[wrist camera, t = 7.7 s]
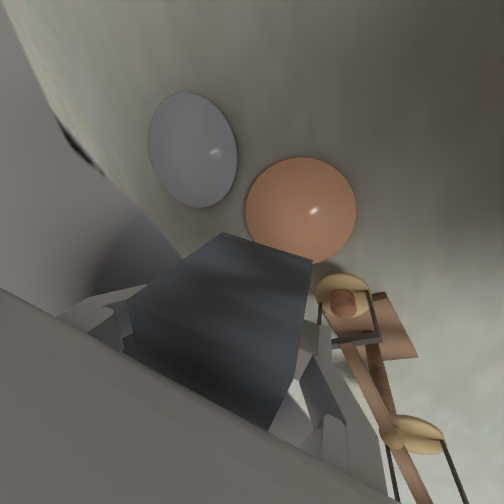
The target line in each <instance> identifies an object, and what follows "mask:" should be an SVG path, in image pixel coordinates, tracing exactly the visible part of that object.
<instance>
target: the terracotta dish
mask: <svg viewBox="0 0 504 504" xmlns="http://www.w3.org/2000/svg"><path fill="white" fill-rule="evenodd" d="M356 214H357V208H356V200H355V196H354V193H353V191H352V188H351V186H350V185H349V183H348V181H347V180H346V178H345V177H344V176H343V175H342V174H341V173H340V172H339V171H338V170H337V169H336V168H334V167H333V166H331V165H329V164H328V163H325V162H323V161H321V160H317V159H313V158H306V157H301V158H291V159H286V160H283V161H280V162H278V163H276V164H274V165H272V166H271V167H269V168H268V169H266V170H265V171H264V172H263V173H262V174H261V175H260V176H259V177H258V178H257V179H256V181H255V182H254V184H253V185H252V187H251V189H250V191H249V194H248V197H247V201H246V209H245V216H246V223H247V227H248V230H249V232H250V235H251V236H252V238H253V240H254V241H255V242H256V243H259V244H263V245H266V246H269V247H272V248H276V249H279V250H282V251H285V252H288V253H292V254H295V255H298V256H301V257H305V258H308V259H311V260H313V263H312V264H315V263H318V262H321V261H323V260H326V259H328V258H329V257H331V256H333V255H334V254H335V253H336V252H338V251H339V250H340V249H341V248H342V247H343V246H344V245H345V243H346V242H347V241H348V239H349V237H350V235H351V234H352V231H353V229H354V226H355V221H356Z"/></svg>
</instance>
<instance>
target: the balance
mask: <svg viewBox="0 0 504 504" xmlns="http://www.w3.org/2000/svg"><path fill="white" fill-rule="evenodd" d="M315 295H316V301H317V303H318V305H319V307H318V319H317V324H318V325H321V316H322V309H323V310H324V314H325V315H326V317H327V318H328V320H329V322H330V323H331V325H332V327H333V328H334V330H335V331H336V333H337V335H338V336H339V338H335V339H331V349H339V348H341V350H342V352H343V354H344V356H345V358H346V360H347V362H348V364H349V366H350V368H351V370H352V372H353V374H354V376H355V378H356V380H357V382H358V384H359V387H360V389H361V391H362V393H363V395H364V397H365V399H366V401H367V403H368V405H369V407H370V409H371V411H372V413H373V415H374V417H375V419H376V421H377V423H378V425H379V433H380V436H381V438H382V440H383V441H384V443H385V447H386V453H387V458H388V463H389V469H390V474H391V479H392V484H393V490H394V495H395V500H396V501H398V502H400V497H399V492H398V487H397V482H396V478H395V473H394V468H393V463H392V458H391V453H390V450H391V452H392V454H393V456H394V458H395V460H396V462H397V464H398V466H399V468H400V470H401V473H402V475H403V477H404V479H405V481H406V483H407V485H408V487H409V489H410V491H411V493H412V495H413V497H414V499H415V501H416V503H417V504H433V502H432V500H431V498H430V496H429V494H428V492H427V490H426V488H425V486H424V484H423V482H422V480H421V478H420V476H419V474H418V471H417V469H416V467H415V465H414V463H413V461H412V459H411V457H410V455H409V453H408V452H411V453H416V454H422V455H434V454H439V453H441V452H443V451H444V454H445V456H446V459H447V462H448V464H449V467H450V469H451V472H452V475H453V477H454V480H455V483H456V485H457V488H458V490H459V493H460V496H461V498H462V501H463V503H464V504H469V502H468V499H467V497H466V494H465V492H464V489H463V487H462V484H461V482H460V479H459V477H458V474H457V472H456V469H455V467H454V464H453V462H452V459H451V457H450V454H449V452H448V449H447V447H446V446H447V444H446V441H445V439H444V436H443V434H442V432H441V431H440V430H439V429H438V428H437V427H435V426H434V425H433V424H431V423H429V422H427V421H425V420H422V419H420V418H417V417H413V416H408V415H397V414H396V410H395V406H394V402H393V398H392V394H391V390H390V386H389V382H388V378H387V375H386V371H385V367H384V363H383V361H385V360H396V359H407V358H418V355H417V353H416V350H415V348H414V346H413V345H412V343H411V341H410V339H409V337H408V335H407V333H406V331H405V329H404V327H403V326H402V324H401V322H400V320H399V318H398V316H397V314H396V312H395V310H394V308H393V306H392V305H391V303H390V301H389V299H388V297H387V295H386V293H385V292H384V293H380V294H376V295H372V294H371V291H370V288H369V286H368V285H367V284H366V283H365V282H364V281H363V280H362V279H360V278H359V277H357V276H355V275H352V274H347V273H336V274H331V275H329V276H326V277H325V278H323V279H322V280H321V281H320V282H319V283H318V285H317V288H316V294H315ZM364 362H368V366H369V371H370V374H369V372H368V370H367V368H366V366H365V364H364ZM400 503H401V502H400Z"/></svg>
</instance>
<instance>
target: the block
mask: <svg viewBox="0 0 504 504" xmlns="http://www.w3.org/2000/svg"><path fill="white" fill-rule="evenodd" d="M312 263H313V260H311V259H308V258H305V257H301V256H298V255H295V254H292V253H288V252H285V251H282V250H279V249H276V248H272V247H269V246H266V245H263V244H259V243H256V242H253V241H250V240H246V239H243V238H240V237H237V236H234V235H230V234H227V233H224V232H222V233H221V234H219V235H218V236H216V237H215V238H214V239H212V240H211V241H209V242H208V243H207V244H205V245H204V246H202V247H201V248H199V249H198V250H197V251H195V252H194V253H192V254H191V255H189V256H188V257H187V258H185V259H184V260H182V261H181V262H180V263H178V264H177V265H175V266H174V267H172V268H171V269H170V270H168V271H167V272H165V273H164V274H162V275H161V276H160V277H158V278H157V279H155V280H154V281H152V282H151V283H150V284H148V285H147V286H145V287H144V288H142V289H141V290H140V291H138V292H137V293H135V294H134V295H133V296H131V297H130V298H128V299H127V300H126V302H127V307H128V311H129V316H130V321H131V325H132V330H133V335H134V339H135V344H136V348H137V353H138V357H139V362H140V363H142V364H144V365H146V366H148V367H150V368H151V369H153V370H155V371H157V372H159V373H161V374H163V375H164V376H166V377H168V378H170V379H172V380H174V381H176V382H177V383H179V384H181V385H183V386H185V387H187V388H189V389H190V390H192V391H194V392H196V393H198V394H200V395H201V396H203V397H205V398H207V399H209V400H211V401H213V402H214V403H216V404H218V405H220V406H222V407H224V408H226V409H227V410H229V411H231V412H233V413H235V414H237V415H238V416H240V417H242V418H244V419H246V420H248V421H250V422H251V423H253V424H255V425H257V426H259V427H261V428H263V429H264V430H266V431H268V429H269V427H270V425H271V423H272V421H273V419H274V417H275V415H276V413H277V411H278V409H279V407H280V405H281V403H282V401H283V399H284V397H285V395H286V393H287V391H288V389H289V387H290V385H291V383H292V381H293V379H294V376H295V370H296V363H297V357H298V351H299V345H300V338H301V332H302V326H303V320H304V313H305V307H306V301H307V294H308V288H309V282H310V276H311V269H312Z"/></svg>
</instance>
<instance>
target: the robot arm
mask: <svg viewBox="0 0 504 504" xmlns="http://www.w3.org/2000/svg"><path fill="white" fill-rule="evenodd" d="M145 286H147V285H141V286H137V287H132V288H128V289H124V290H119V291H115V292H111V293H106V294H102V295H97V296H93V297H89V298H87V299H85V300H84V301H82V302H80V303H79V304H77V305H75V306H73V307H72V308H70V309H68V310H67V311H65V312H63V313H62V314H60V315H58V316H56V317H55V316H53V315H51V314H49V313H48V312H46V311H44V310H42V309H40V308H38V307H36V306H35V305H32V304H31V303H29V302H27V301H25V300H23V299H22V298H20V297H18V296H16V295H14V294H12V293H11V292H9V291H7V290H5V289H3V288H1V287H0V504H402V503H400V502H398V501H396V500H394V499H392V498H390V497H389V496H388V492H387V487H386V481H385V475H384V469H383V464H382V458H381V452H380V446H379V440H378V436H377V435H376V433H375V431H374V429H373V428H372V426H371V424H370V423H369V421H368V419H367V417H366V416H365V414H364V412H363V411H362V409H361V407H360V405H359V404H358V402H357V400H356V399H355V397H354V395H353V393H352V392H351V390H350V388H349V387H348V385H347V383H346V382H345V380H344V378H343V376H342V375H341V373H340V371H339V370H338V368H337V366H336V364H334V363H332V351H331V330H330V329H329V328H326V327H323V326H321V325H318V324H315V323H312V322H310V321H307V320H303V326H302V332H301V338H300V345H299V351H298V357H297V363H296V370H295V376H294V379H296V380H298V381H300V382H299V383H300V386H301V390H302V393H303V396H304V399H305V402H306V405H307V409H308V412H309V415H310V418H311V421H312V424H313V428H314V430H313V431H312V432H311V434H310V435H309V436H308V437H307V439H306V440H305V441H304V443H303V444H302V445H301V449H299V448H298V447H296V446H294V445H292V444H290V443H288V442H287V441H285V440H283V439H281V438H279V437H277V436H275V435H274V434H272V433H270V432H268V431H266V430H264V429H263V428H261V427H259V426H257V425H255V424H253V423H251V422H250V421H248V420H246V419H244V418H242V417H240V416H238V415H237V414H235V413H233V412H231V411H229V410H227V409H226V408H224V407H222V406H220V405H218V404H216V403H214V402H213V401H211V400H209V399H207V398H205V397H203V396H201V395H200V394H198V393H196V392H194V391H192V390H190V389H189V388H187V387H185V386H183V385H181V384H179V383H177V382H176V381H174V380H172V379H170V378H168V377H166V376H164V375H163V374H161V373H159V372H157V371H155V370H153V369H151V368H150V367H148V366H146V365H144V364H142V363H140V362H138V361H137V360H135V359H133V358H131V357H129V356H127V355H125V354H124V353H122V352H121V351H122V350H123V343H122V339H121V338H123V337H125V336H127V335H129V334H131V333H133V330H132V325H131V321H130V316H129V311H128V307H127V302H126V300H127V299H128V298H130V297H131V296H133V295H134V294H135V293H137V292H138V291H140V290H141V289H142V288H144V287H145Z"/></svg>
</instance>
